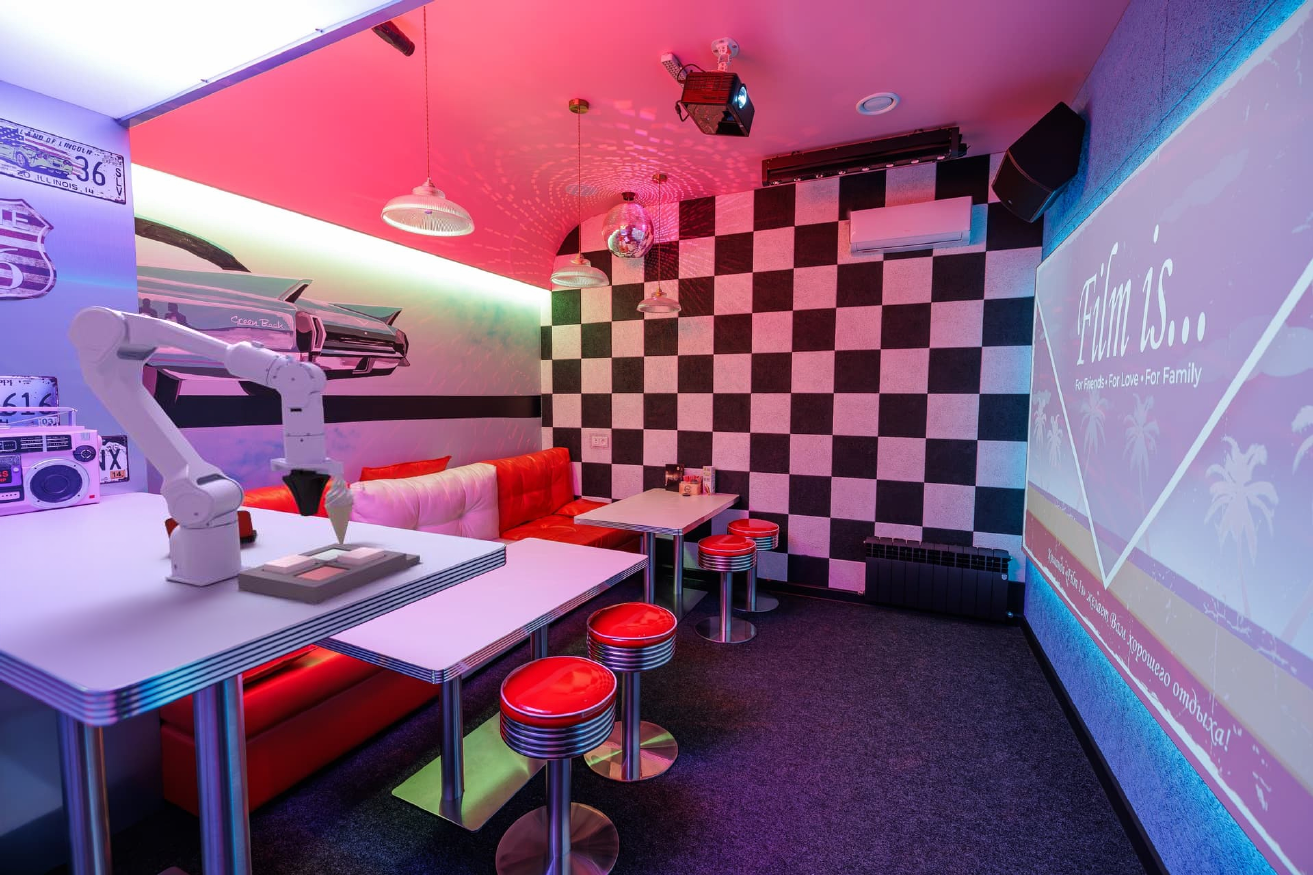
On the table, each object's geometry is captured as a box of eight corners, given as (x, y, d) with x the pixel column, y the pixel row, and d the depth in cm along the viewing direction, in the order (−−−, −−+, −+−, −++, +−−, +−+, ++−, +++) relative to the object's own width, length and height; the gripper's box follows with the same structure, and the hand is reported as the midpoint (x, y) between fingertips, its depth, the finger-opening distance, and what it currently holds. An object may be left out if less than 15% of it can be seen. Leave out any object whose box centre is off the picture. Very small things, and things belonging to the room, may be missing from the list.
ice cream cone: (346, 548, 102) (342, 471, 101) (320, 548, 102) (315, 471, 101) (361, 540, 107) (357, 467, 106) (336, 540, 107) (332, 467, 106)
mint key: (307, 564, 90) (307, 557, 90) (333, 555, 94) (333, 549, 94) (328, 567, 88) (327, 560, 88) (353, 558, 93) (353, 552, 93)
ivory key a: (264, 571, 83) (263, 563, 83) (294, 561, 88) (294, 554, 88) (285, 574, 82) (285, 567, 81) (315, 565, 86) (314, 557, 86)
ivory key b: (337, 562, 87) (337, 555, 87) (362, 553, 92) (362, 547, 92) (359, 565, 86) (359, 558, 86) (384, 556, 90) (383, 550, 90)
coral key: (296, 583, 81) (295, 576, 81) (325, 573, 85) (325, 566, 85) (319, 588, 79) (318, 580, 79) (347, 577, 84) (347, 570, 84)
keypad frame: (238, 588, 82) (237, 572, 82) (350, 551, 100) (350, 538, 100) (316, 604, 76) (314, 587, 76) (420, 562, 95) (419, 548, 94)
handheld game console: (257, 534, 113) (255, 499, 112) (252, 547, 104) (250, 509, 103) (179, 543, 106) (176, 506, 105) (166, 558, 97) (163, 518, 96)
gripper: (357, 434, 90) (362, 513, 91) (297, 431, 95) (301, 506, 96) (318, 437, 83) (323, 523, 85) (255, 434, 88) (261, 515, 90)
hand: (309, 514), depth 90 cm, fingers closed
